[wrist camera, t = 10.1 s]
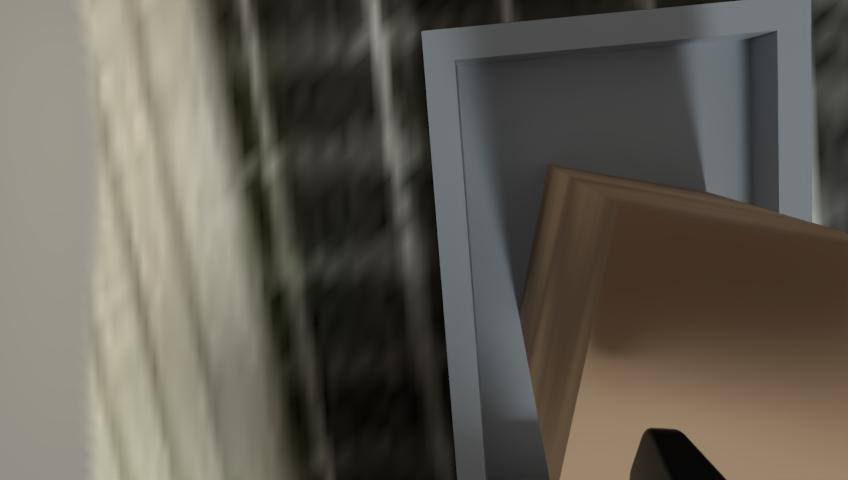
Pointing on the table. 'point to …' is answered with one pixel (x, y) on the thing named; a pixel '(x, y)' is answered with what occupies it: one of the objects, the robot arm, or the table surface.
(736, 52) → the tray
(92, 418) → the table surface
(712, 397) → the block
